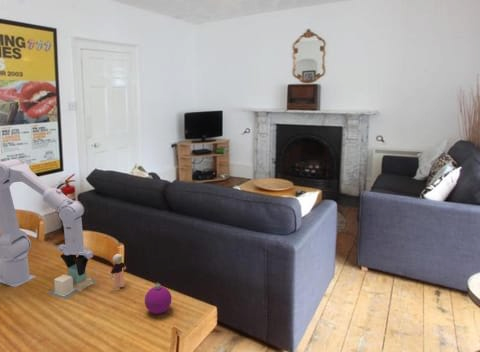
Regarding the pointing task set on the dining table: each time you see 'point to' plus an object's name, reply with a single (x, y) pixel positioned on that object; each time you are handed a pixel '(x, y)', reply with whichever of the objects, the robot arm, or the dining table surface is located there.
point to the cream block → (63, 284)
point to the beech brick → (82, 283)
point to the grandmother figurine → (118, 272)
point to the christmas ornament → (158, 299)
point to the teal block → (76, 274)
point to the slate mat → (70, 292)
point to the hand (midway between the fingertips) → (76, 273)
